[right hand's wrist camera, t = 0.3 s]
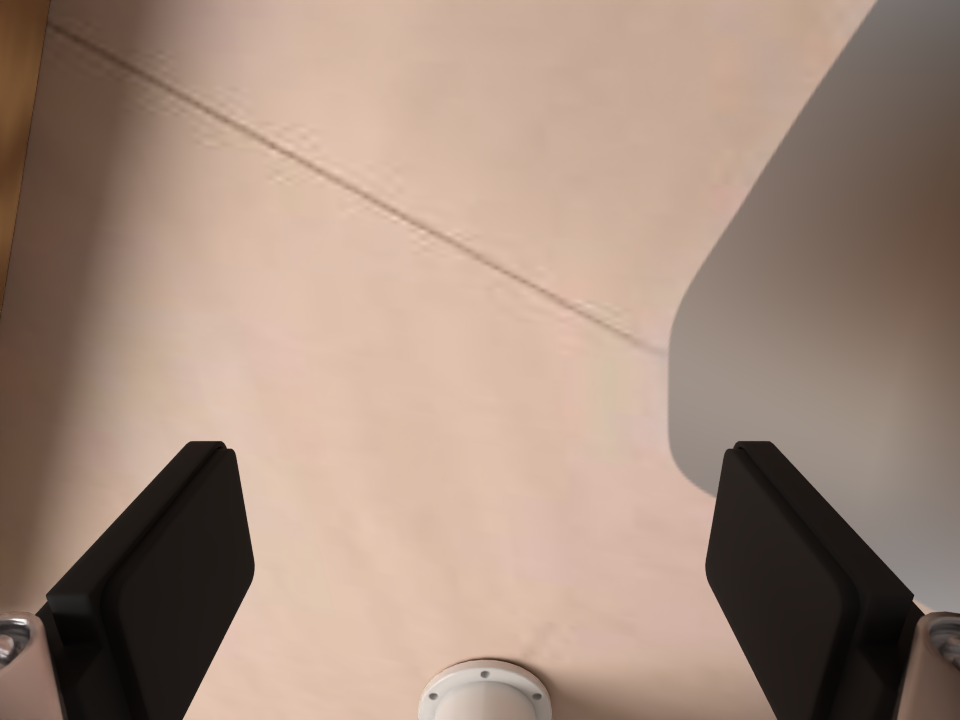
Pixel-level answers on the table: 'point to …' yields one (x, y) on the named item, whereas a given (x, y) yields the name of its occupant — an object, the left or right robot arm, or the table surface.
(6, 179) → the beam
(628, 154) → the table surface
